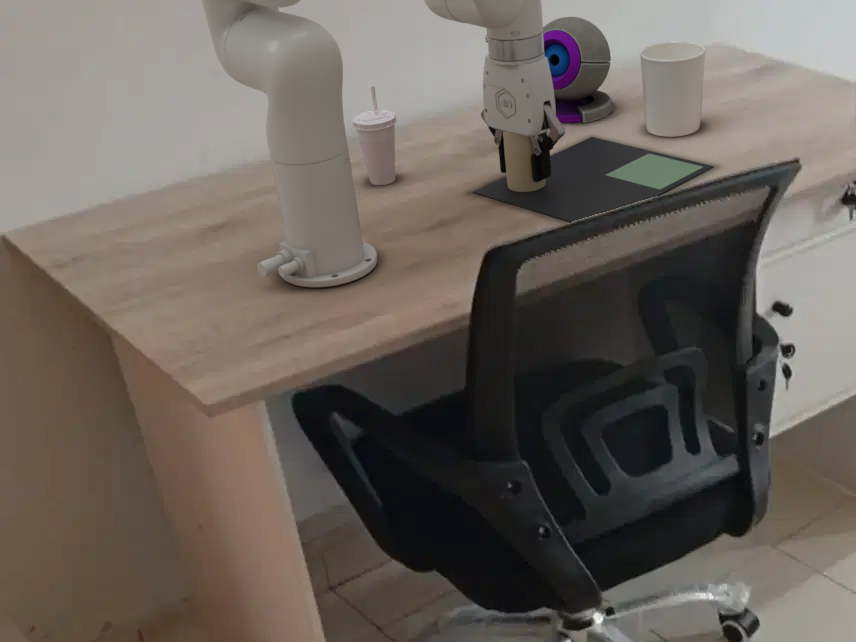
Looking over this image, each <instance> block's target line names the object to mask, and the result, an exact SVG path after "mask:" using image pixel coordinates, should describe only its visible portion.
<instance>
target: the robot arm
mask: <svg viewBox="0 0 856 642" xmlns="http://www.w3.org/2000/svg"><path fill="white" fill-rule="evenodd" d="M301 1H302V0H201V3H202V6H203V11H204V14H205V18H206V22H207V25H208V29H209V33H210V37H211V42H212V45H213V48H214V51H215V55H216V56H217V59H218V61H219V63H220V65H221V66H222V68H223V70H224V71H225V73H226V74H227V75H228V77H230V78H232V79H233V80H234V81H236V82H237V83H239V84H241V85H242V86H245V87H248V88H251V89H254V90H257V91H260V92H262V93H264V94H266V96H267V101H268V104H267V105H268V107H267V114H266V121H265V122H266V123H265V132H266V133H265V134H266V143H267V148H268V153H269V158H270V162H271V166H272V173H273V178H274V184H275V189H276V194H277V200H278V204H279V209H280V213H281V214H280V215H281V219H282V220H281V221H282V225H283V231H284V237H285V239H284V240H282V241H280V242H278V245H279V251H277V252H276V253H275V256H273V257H269V258H267V259H264V260H262V261H259V262H258V263H257V264H256V270H257V272H258V274H259V275H260V276H261V277H262V278H266V277H268V276H269V277H270V275H271V276H272V275H273V274H276V273H278V274H279V276H280V278H282V279H283V280H284V281H285V282H287V283H289V284H291V285H294V286H297V287H302V288H328V287H329V288H330V287H334V286H340V285H343V284H348V283H351V282H353V281H356V280H359V279H361V278H363V277H365V276H367V274H369V273H370V272H372V270H373V269H374V268H375V267H376V266H377V264H378V259H379V258H378V253H377V249H376V248H375V247H374V246H373V245H371V244H370V243H368V242H365V241H363V234H362V228H361V223H360V222H361V221H360V214H359V209H358V203H357V197H356V196H357V195H356V189H355V183H354V177H353V170H352V164H351V157H350V151H349V145H348V140H347V134H346V128H345V127H346V126H345V118H344V107H343V104H344V103H343V84H344V83H343V81H344V63H343V62H344V61H343V57H342V53H341V49H340V47H339V44H338V42H337V40H336V39H335V38H334V37H333V35H332V34H331V33H330V31H328V30H327V29H326V28H325V27H324V26H322V25H321V24H319V23H317V22H315V21H314V20H311V19H310V18H306V17H303V16H300V15H296V14H293V13H287V12H284V11H280V10H279V8H288V7H291V6H295V5H296V4H298V3H299V2H301ZM423 1H424V4H425V5H426V6H427V9H429V10H430V11H431V12H432V13H433V14H435V15H436V16H438V17H440V18H442V19H445V20H449V21H451V22H452V21H453V22H457V23H461V24H466V25H467V24H468V25H472V26H476V27H480V28H484V29H486V34H485V37H484V39H485V42H486V43H487V50H488V54H487V55H485V58H484V64H483V73H482V74H483V75H482V101H483V102H482V103H483V105H482V106H483V109H482V111H481V112H480V117H481V119H482V120H483V122H484V123H485V125H487V127H488V130H489V132H490V133H491V135H492V136H493V138H494V139H493V141H494V144H495V145H496V146H498V148H497V149H498V158H499V171H500V173H502V174H506V164H505V152H504V140H503V131H507V132H511V133H514V134H517V135H521V136H526V137H529V138H530V141H531V144H532V147H533V150H534V153H535V154H532V155H531V162H532V176H533V181H534V182H539V181H541V180H543V179H546V178H548V177H550V176H551V162H550V156H551V151H552V150H553V149H554V146H555V145H556V144H557V143H558V142H559V141H560V139H562V137H564V136H565V134H566V129H565V128H564V125H563V124H562V123H560V121H559V120H558V118H557V117H556V107H555V97H554V89H553V82H552V77H551V72H550V67H549V63H548V60H547V57H545V53H544V37H543V27H544V24H543V23H544V22H543V8H542V0H423ZM540 134H541V136H542V140H543V141H542V142H541V143H540V141H539V137H538V135H540Z"/></svg>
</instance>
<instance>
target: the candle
mask: <svg viewBox="0 0 856 642" xmlns="http://www.w3.org/2000/svg"><path fill="white" fill-rule="evenodd" d="M538 137H539V141H540V143H541V142H542V141H543V140H542V136H541V134H540V135H538ZM503 140H504V152H505V164H506V173H505V176H507V185H508V188H509V189H510V190H513V191H517V192H530V191H535V190H538V189H541V188H542V187H544V186H545V182H546V179H543V180H541V181H539V182H534V181H533V176H532V162H531V155H532V154H535V153H534V150H533V147H532V144H531V141H530V138H529V137H526V136H521V135H517V134H514V133H511V132H507V131H503Z"/></svg>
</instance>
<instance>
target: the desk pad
mask: <svg viewBox="0 0 856 642" xmlns="http://www.w3.org/2000/svg"><path fill="white" fill-rule="evenodd" d="M550 162H551V176H550V177H548V178H546V182H545V186H544V187H542V188H541V189H538V190H535V191H530V192H517V191H513V190H510V189H509V188H508V185H507V175H505V176H503V177H501V178H500V179H497V180H495V181H493V182H490V183H488V184H486V185H483V186H482V187H480V188H477V189H475V190H473V191H472V194H475V195H479V196H481V197H485V198H488V199H492V200H495V201H498V202H502V203H505V204H508V205H512V206H514V207H518V208H522V209H525V210H528V211H531V212H535V213H537V214H542V215H545V216H548V217H552V218H555V219H558V220H562V221H565V222H568V223H571V222H572V221H575V220H579V219H582V218H585V217H589V216H592V215H595V214H599V213H603V212H607V211H610V210H613V209H616V208H619V207H622V206H626V205H629V204H632V203H635V202H638V201H641V200H645V199H648V198H651V197H655V196H658V195H660V196H662V195H664V194H666V193H668V192H669V191H671V190H673V189H675V188H678V187H679V186H681V185H682V184H685V183H687V182H689V181H690V180H692V179H694V178H697V177H698V176H700V175H702V174H704V173H705V172H708V171H709V170H712V169H714V165H711V164H707V163H703V162H698V161H695V160H689V159H687V158H682V157H677V156H675V155H674V156H673V155H669V154H665V153H661V152H657V151H653V150H648V149H644V148H640V147H636V146H631V145H628V144H623V143H619V142H615V141H611V140H608V139H607V140H606V139H603V138H598V137H594V136H590V137H589V138H586V139H584V140H581V141H580V142H577V143H575V144H573V145H570V146H569V147H566V148H565V149H562V150H560V151H557V152H555V153H554V154H550ZM661 194H662V195H661ZM658 197H659V196H658Z"/></svg>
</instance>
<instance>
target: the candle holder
mask: <svg viewBox="0 0 856 642" xmlns="http://www.w3.org/2000/svg"><path fill="white" fill-rule="evenodd" d="M706 52H707V51H706V47H705V46H704V45H702V44H701V43H697V42H694V41H693V42H692V41H685V40H681V41H680V40H671V41H661V42H657V43H651V44H649V45H645V46H644V47H642V49H640V51H639V59H640V70H641V82H642V83H641V84H642V95H643V108H644V120H645V126H646V131H647V132H648V133H649V134H651V135H653V136H658V137H665V138H668V137H669V138H676V137H677V138H678V137H684V136H688V135H692V134H694V133H696V132H697V131H698V130H699V129H700V127H701V120H702V110H703V109H702V108H703V91H704V75H705V62H706V61H705V59H706Z"/></svg>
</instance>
